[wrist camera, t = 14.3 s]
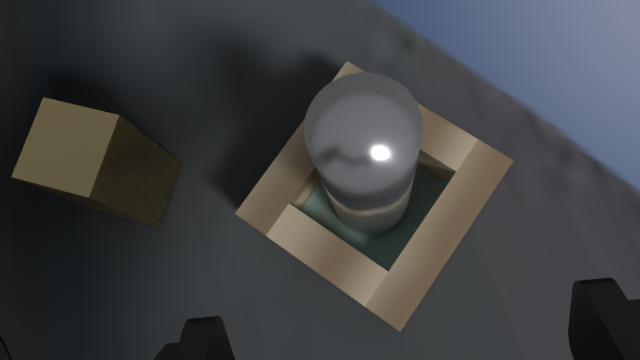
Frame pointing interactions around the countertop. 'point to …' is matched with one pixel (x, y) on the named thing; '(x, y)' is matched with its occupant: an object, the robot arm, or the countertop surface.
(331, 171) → the cylinder
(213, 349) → the robot arm
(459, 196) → the socket block
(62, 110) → the yellow brown rectangular block
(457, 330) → the countertop surface
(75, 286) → the countertop surface
